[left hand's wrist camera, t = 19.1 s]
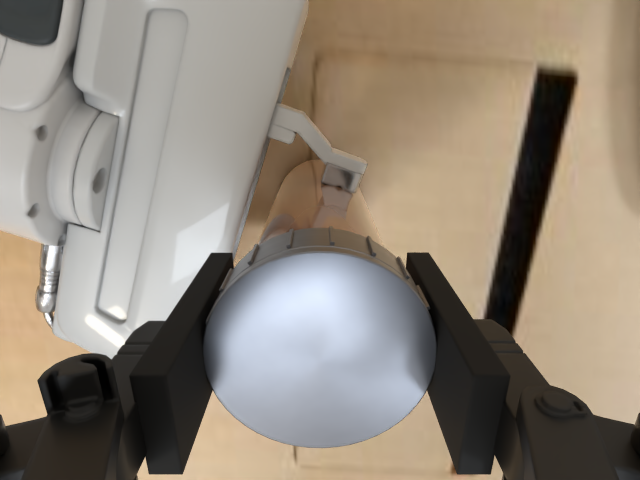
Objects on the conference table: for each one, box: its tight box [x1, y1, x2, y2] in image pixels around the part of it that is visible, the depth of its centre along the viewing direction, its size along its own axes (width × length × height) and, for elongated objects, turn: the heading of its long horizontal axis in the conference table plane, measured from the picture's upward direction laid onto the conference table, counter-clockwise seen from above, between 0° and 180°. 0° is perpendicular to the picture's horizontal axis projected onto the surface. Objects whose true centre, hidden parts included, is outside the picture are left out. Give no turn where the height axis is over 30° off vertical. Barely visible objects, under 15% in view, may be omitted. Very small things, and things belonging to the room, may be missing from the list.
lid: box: [203, 226, 437, 448], centre depth 11 cm, size 6×6×2 cm
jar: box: [257, 159, 384, 247], centre depth 19 cm, size 5×5×16 cm
